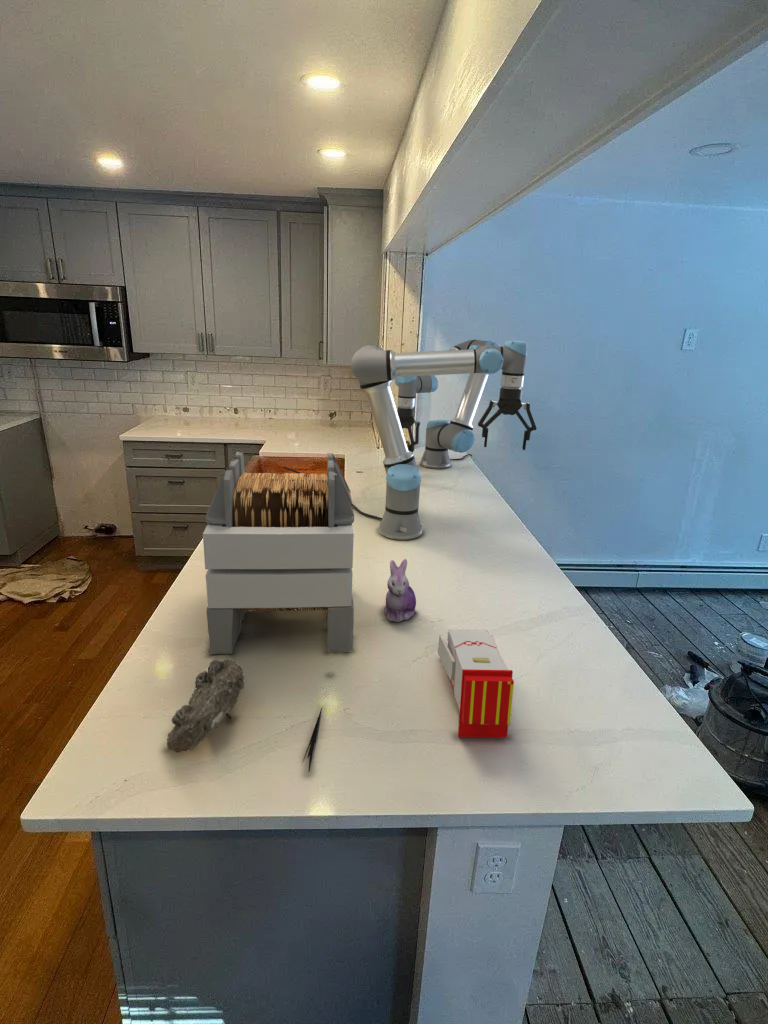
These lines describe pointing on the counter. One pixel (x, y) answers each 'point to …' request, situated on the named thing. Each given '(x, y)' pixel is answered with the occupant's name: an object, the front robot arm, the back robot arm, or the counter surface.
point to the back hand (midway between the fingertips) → (403, 458)
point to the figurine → (399, 594)
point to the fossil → (206, 705)
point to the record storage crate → (279, 550)
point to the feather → (313, 740)
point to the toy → (478, 682)
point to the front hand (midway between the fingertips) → (504, 447)
